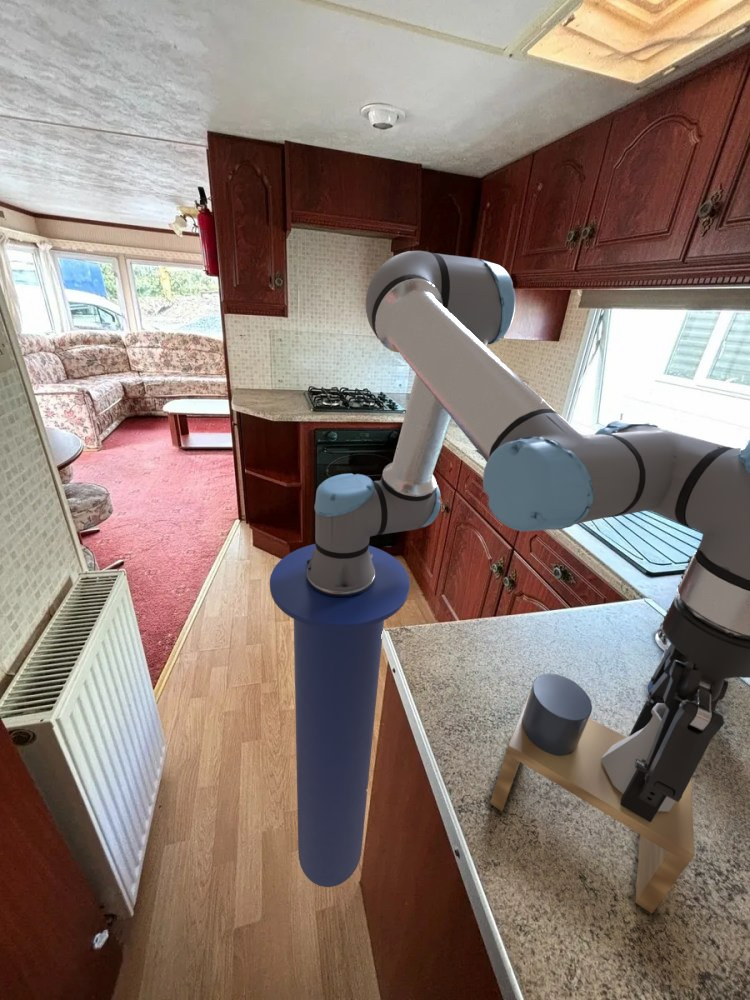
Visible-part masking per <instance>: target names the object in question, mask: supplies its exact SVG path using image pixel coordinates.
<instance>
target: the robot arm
mask: <svg viewBox="0 0 750 1000" xmlns="http://www.w3.org/2000/svg"><path fill="white" fill-rule="evenodd" d="M513 285H514V284H513V280H512V277H511V275H510V274H509V272H508V271H507V270H506V269H505V268H504V267H503V266H501V265H500V264H497V263H494V262H491V261H488V260H484V259H480V258H477V257H476V258H475V257H469V256H460V255H453V254H451V255H450V254H444V253H434V252H429V251H425V250H408V251H404V252H402V253H401V252H400V253H399V254H396V255H394V256H393V257H391V258H390V259H388V260H386V261H385V262H384V263H383V264H382V265H380V267H379V268H378V269H377V270H376V272H375V273H374V274H373V276H372V278H371V280H370V282H369V284H368V288H367V290H366V297H365V313H366V317H367V322H368V325H369V326H370V328H371V331H372V332H373V333H374V335H375V336H376V338H377V339H378V340H379V342H380V343H381V344H382V345H383V347H385V348H386V349H387V350H389V351H391V352H394V353H399V354H400V355H401V357H402V358H403V360H404V361H406V363H407V364H408V366H409V367H410V368H411V369H412V370H413V372H414V373H415V376H414V378H413V382H412V387H411V390H410V394H409V399H408V403H407V406H406V410H405V413H404V417H403V421H402V425H401V429H400V433H399V437H398V441H397V443H396V444H397V445H396V449H395V451H394V456H393V460H392V462H390V463H388V464H387V465H385V466H384V468H383V470H382V474H381V477H380V480H374V481H373V480H372V478H370V477H369V476H367V475H365V474H360V473H356V474H353V473H341V474H336V475H334V476H333V475H332V476H330V477H328V478H326V479H325V480H324V481H322V482H321V483H320V484H319V485H318V487H317V488H316V493H315V503H314V512H315V513H314V515H315V516H314V517H315V518H314V519H315V522H314V525H315V528H314V529H315V531H314V532H315V534H314V537H315V539H314V541H315V542H314V544H315V549H314V552H313V554H312V557H311V559H310V560H307V564H308V568H307V582H308V584H309V585H310V587H311V588H312V589H313V590H315V591H316V592H318V593H320V594H322V595H325V596H329V597H334V598H348V597H354V596H357V595H360V594H362V593H364V592H366V591H367V590H369V589H370V588H371V587H372V585H373V583H374V580H375V569H374V565H373V563H372V559H371V558H372V557H373V553H372V554H371V555H370V552H369V546H370V537H374V536H379V535H387V534H393V533H400V532H401V533H402V532H407V531H415V530H418V529H421V528H426V527H428V526H430V525H431V524H432V523H433V522H435V520H436V519H437V517H438V516H439V512H440V509H441V504H442V503H441V500H440V498H441V491H440V488H439V485H438V484H437V479H436V477H435V475H434V471H435V468H436V465H437V461H438V459H439V456H440V453H441V451H442V448H443V445H444V441H445V439H446V436H447V433H448V430H449V427H450V424H451V422H452V420H453V422H454V423H455V424H456V425H457V427H458V428H459V429H460V430H461V432H462V433H463V434H464V436H465V437H466V438H467V439H468V441H469V442H470V443H471V444H472V445H473V447H474V448H475V449H476V450H477V451H478V453H479V455H480V456H481V457H482V458H483V459H484V461H486V464H485V466H484V470H483V474H482V475H483V476H482V488H483V493H484V494H487V498H488V503H487V505H488V508H489V510H490V512H491V513H492V514H493V515H494V518H496V519H497V520H498V522H500V523H501V524H502V525H504V526H505V527H507V528H509V529H511V530H515V531H518V532H538V531H545V530H546V531H548V530H550V531H551V530H554V531H557V530H563V529H566V528H567V529H568V528H571V527H573V526H575V525H578V524H582V523H587V522H590V521H592V522H593V521H596V520H601V519H607V518H616V517H621V516H625V515H632V514H635V513H640V512H641V513H642V512H645V511H646V512H651V513H654V514H656V515H659V516H662V517H663V518H666V519H669V520H670V521H673V522H675V523H676V524H677V523H678V524H679V525H681V526H684V527H687V528H688V529H691V530H692V529H693V530H695V531H698V532H699V533H701V534H702V536H701V540H700V543H699V545H698V547H697V548H696V550H695V552H694V553H693V555H692V556H693V557H692V560H691V562H690V564H689V563H688V564H689V566H688V568H687V570H686V573H685V575H684V577H683V579H682V578H681V580H680V582H681V584H680V583H679V584H680V586H679V588H678V587H677V588H678V592H679V594H677V593H676V595H675V596H674V598H673V600H672V602H671V604H670V606H669V607H668V609H669V611H668V613H667V612H666V614H667V615H666V614H665V616H666V617H665V619H664V618H663V620H662V622H663V630H664V633H665V635H666V637H667V638H668V640H669V641H670V642H671V645H670V646H669V648H668V650H667V652H666V654H665V655H664V657H663V659H662V661H661V663H660V664H659V663H658V664H659V666H658V665H657V666H658V668H657V667H656V668H657V670H656V669H655V670H656V671H655V670H654V672H655V673H654V672H653V675H652V676H651V677H650V681H651V684H652V685H654V686H653V687H652V689H650V691H649V693H647V696H648V695H649V696H648V699H649V700H646V701H645V703H644V704H643V707H642V709H641V710H640V712H639V715H638V717H637V719H636V720H635V722H634V724H633V727H632V729H631V731H630V732H629V735H628V737H629V736H631V735H633V734H634V733H636V732H638V731H639V730H641V729H643V728H644V727H645V726H646V725H647V724H648V723H649V722H650V720H651V718H652V716H653V714H652V713H651V710H652V709H653V708H654V706H655V705H656V704H657V703H665V705H666V707H667V708H666V710H665V713H664V716H663V718H662V721H661V723H660V726H659V729H658V731H657V734H656V737H655V739H654V742H653V744H652V747H651V750H650V752H649V755H648V758H647V760H644V759H642V761H641V760H639V759H637V758H636V762H635V768H636V769H637V770H636V772H635V774H634V775H633V777H632V779H631V781H630V783H629V785H628V786H627V788H626V790H625V792H624V794H623V796H622V798H621V804H620V805H622V806H623V807H625V808H627V809H628V810H630V811H632V812H634V813H635V814H637V815H639V816H640V817H642V818H644V819H646V820H647V821H649V822H651V821H652V819H653V818H654V816H655V814H656V813H657V811H658V810H659V808H660V806H661V805H662V803H663V801H664V800H665V798H666V797H669V798H671V799H673V800H675V801H677V802H679V800H680V799H681V798H682V795H683V793H684V791H685V789H686V787H687V785H688V783H689V781H690V779H691V780H692V777H693V776H694V773H695V772H696V770H697V768H698V766H699V764H700V762H701V760H702V759H703V757H704V755H705V753H706V751H707V749H708V747H709V745H710V743H711V741H712V739H713V738H714V737H715V736H716V735H717V734H718V733H719V731H720V730H721V729H722V728H723V726H724V725H725V721H724V720H725V718H724V715H723V714H720V713H718V712H716V709H717V706H718V703H719V701H721V700H723V699H724V698H725V696H726V693H727V690H728V687H729V681H728V679H727V680H724V679H726V678H729V679H731V678H732V679H733V678H742V679H745V678H746V679H747V678H750V438H749V439H748V440H747V442H746V444H745V445H744V446H742V447H741V448H740V447H739V448H738V447H736V448H735V447H732V446H731V447H730V446H726V445H723V444H719V443H716V442H711V441H709V440H704V439H702V438H697V437H694V436H689V435H687V434H682V433H679V432H676V431H670V430H668V429H664V428H661V427H658V425H656V424H651V423H649V422H648V423H639V422H634V421H630V420H623V419H622V420H621V419H620V420H614V421H611V422H609V423H608V424H606V426H605V427H603V428H600V429H599V430H598V429H597V431H596V432H595V433H594V434H584V433H582V432H580V431H578V429H576V427H574V426H573V425H572V424H571V423H569V422H568V421H567V420H566V419H565V418H564V417H563V416H562V415H560V414H559V413H558V412H557V411H556V410H554V409H553V408H552V407H551V406H550V405H549V404H548V403H547V402H546V401H545V400H544V399H543V398H542V397H541V396H540V395H539V394H537V393H536V391H534V390H533V389H532V388H531V387H530V386H529V385H528V384H527V383H526V382H524V380H523V379H522V378H521V377H519V376H518V375H517V374H516V373H515V372H514V371H513V370H512V369H511V368H509V366H508V365H506V363H505V362H504V361H502V360H501V359H500V358H499V357H498V356H497V355H496V354H495V353H494V352H493V351H492V350H490V349H489V347H487V346H488V345H493V344H495V343H497V342H499V341H500V340H501V339H503V338H504V337H505V336H506V334H507V333H508V332H509V330H510V328H511V325H512V323H513V320H514V317H515V311H516V291H515V289H514V286H513ZM650 699H651V700H650ZM683 700H684V702H682V701H683Z"/></svg>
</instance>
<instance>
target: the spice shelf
mask: <svg viewBox="0 0 750 1000" xmlns="http://www.w3.org/2000/svg"><path fill="white" fill-rule="evenodd" d="M530 692H531V689H530V690H529V693H528V695H527V698H526V700H525V703H524V705H523V707H522V709H521V712H520V714H519V717H518V720H517V722H516V725H515V726H514V727H515V728H514V730H513V731H512V732H513V733H512V735H511V738H510V740H509V742H508V745H507V748H506V750H505V755H504V758H503V761H502V764H501V767H500V770H499V774H498V777H497V780H496V783H495V786H494V790H493V793H492V796H491V799H490V804H491V806H493V807H494V808H496V809H498V810H499V811H500V812H503V811H504V808H505V805H506V803H507V800H508V798H509V797H508V796H509V794H510V793H511V792H510V791H511V788H512V786H513V783H514V780H515V777H516V776H517V775H516V774H517V773H518V769H519V766H520V764H523V765H525V766H526V767H528V768H529V769H531V770H533V771H534V772H536V773H538V774H539V775H540V776H542V777H544V778H546V779H547V780H549V781H551V782H553V783H555V784H556V785H558V786H559V787H561V788H562V789H565V790H566V791H567V792H569V793H571V794H572V795H574V796H575V797H576V798H579V799H580V800H583V801H584V802H586V804H589V805H590V806H592V807H593V808H595V809H597V810H599V811H600V812H602V813H604V814H605V815H607V816H609V817H610V818H612V819H613V820H616V821H617V822H618V823H620V824H622V825H623V826H626V827H627V828H629V829H630V830H632V831H634V832H635V833H636V834H638V835H639V841H638V854H637V855H638V856H637V857H638V858H637V872H636V885H635V886H636V888H635V902H634V903H636V904H637V905H638V906H640V907H641V908H643V909H644V910H646V911H647V912H649V913H650V914H654V912H655V911H656V910H657V908H658V907H659V905H660V904H661V903H662V901H663V900H664V899H665V896H666V895H668V893H669V892H670V890H671V889H672V887H674V885H675V883H676V882H677V880H678V879H679V878H680V876H681V875H682V874H683V872H684V871H685V870H686V868H687V866H688V865H689V864H690V862H691V861H692V860H693V858H694V857H695V855H696V854H695V834H694V833H695V832H694V812H693V811H694V809H693V790H692V789H693V788H692V778H691V779H690V781H689V783H688V785H687V787H686V789H685V791H684V793H683V795H682V798H681V799H680V800H679V802H677V801H676V802H675V803H674V805H673V807H672V808H671V810H670V811H669V812H666V811H657V813H656V814H655V816H654V818H653V819H652V821H651V822H649V821H647V820H646V819H644V818H642V817H640V816H639V815H637V814H635V813H634V812H632V811H630V810H628V809H627V808H625V807H623V806H622V805H620V804H621V798H622V796H623V793H621V792H620V791H619V790H618V789H617V788H616V787H615V786H614V785H613V783H612V781H611V779H610V777H609V775H608V773H607V771H606V769H605V767H604V765H603V763H602V761H601V758H602V757H603V755H604V754H605V753H606V752H607V751H608V750H609V749H610V748H611V746H612V745H614V744H616V743H618V742H619V741H621V740H623V739H625V738H627V737H628V736H625V735H624V734H621V733H620V732H618V731H616V730H614V729H611V728H610V727H608V726H606V725H604V724H602V723H600V722H598V721H596V720H594V719H592V718H590V717H589V719H588V721H587V724H586V726H585V729H584V731H583V733H582V736H581V738H580V741H579V743H578V745H577V748H576V749H575V751H574V752H573V753H571V754H569V755H566V756H557V755H552V754H549V753H547V752H545V751H543V750H541V749H540V748H538V747H537V746H536V745H535V744H534V743H533V742H532V741H531V740H530V739H529V738H528V736H527V735H526V733H525V731H524V729H523V725H522V717H523V714H524V711H525V708H526V705H527V702H528V698H529V695H530Z"/></svg>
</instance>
